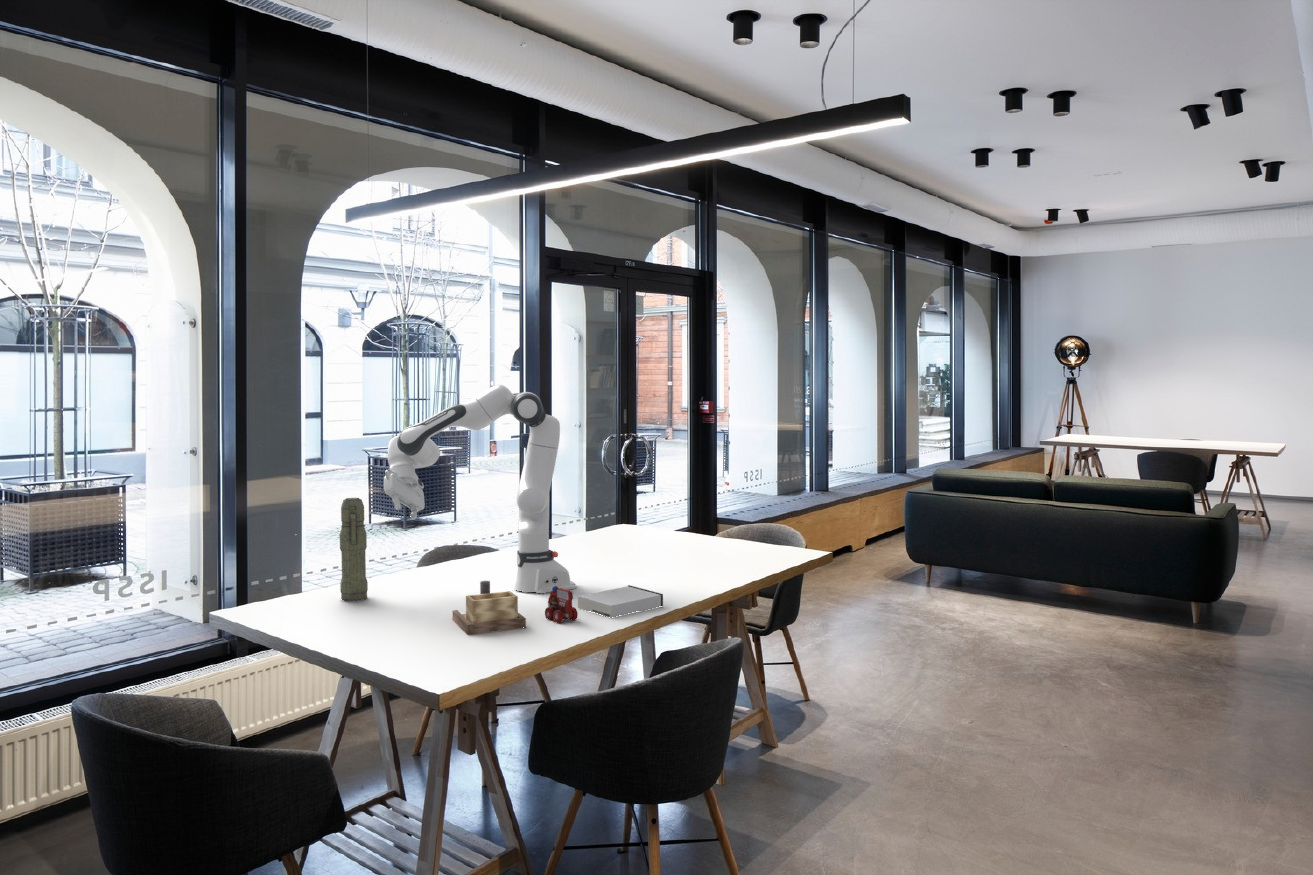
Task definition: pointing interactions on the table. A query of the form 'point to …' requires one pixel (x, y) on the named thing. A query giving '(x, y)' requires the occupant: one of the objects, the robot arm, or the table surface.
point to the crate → (491, 605)
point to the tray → (487, 624)
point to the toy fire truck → (560, 605)
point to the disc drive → (620, 601)
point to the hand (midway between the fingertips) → (406, 513)
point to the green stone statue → (353, 551)
